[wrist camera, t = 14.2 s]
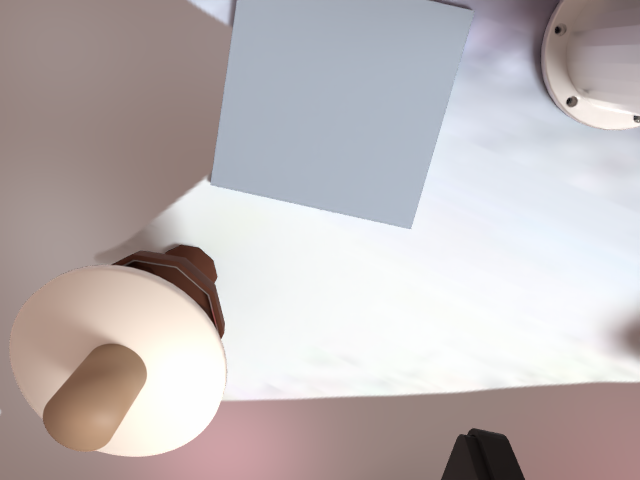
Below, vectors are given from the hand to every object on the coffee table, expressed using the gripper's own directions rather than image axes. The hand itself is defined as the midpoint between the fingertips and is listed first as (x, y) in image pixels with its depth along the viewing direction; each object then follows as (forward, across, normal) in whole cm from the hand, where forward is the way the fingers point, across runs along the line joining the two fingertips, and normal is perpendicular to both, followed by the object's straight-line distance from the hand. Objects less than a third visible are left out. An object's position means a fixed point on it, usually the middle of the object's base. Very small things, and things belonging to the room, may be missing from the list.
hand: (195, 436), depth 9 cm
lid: (+21, +9, +15) cm, 28 cm away
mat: (+36, -1, -3) cm, 36 cm away
